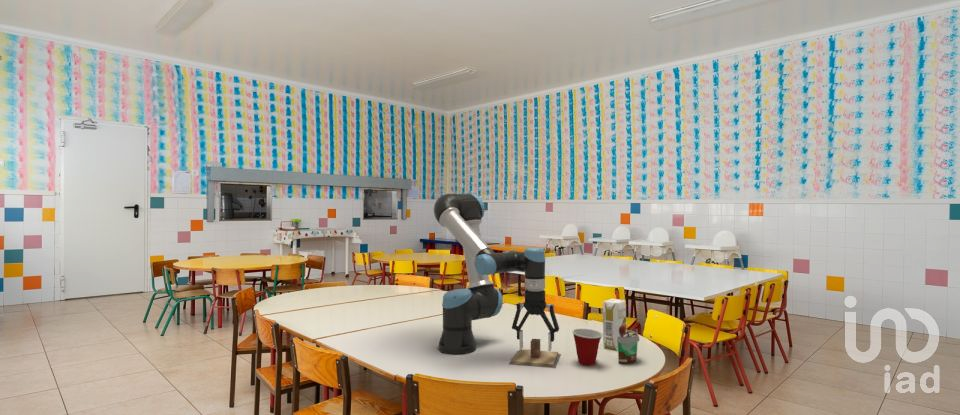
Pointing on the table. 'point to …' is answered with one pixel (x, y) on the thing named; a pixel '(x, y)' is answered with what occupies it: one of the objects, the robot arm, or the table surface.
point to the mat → (539, 366)
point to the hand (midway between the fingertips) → (535, 349)
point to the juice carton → (613, 322)
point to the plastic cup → (587, 345)
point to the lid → (535, 356)
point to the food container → (627, 347)
